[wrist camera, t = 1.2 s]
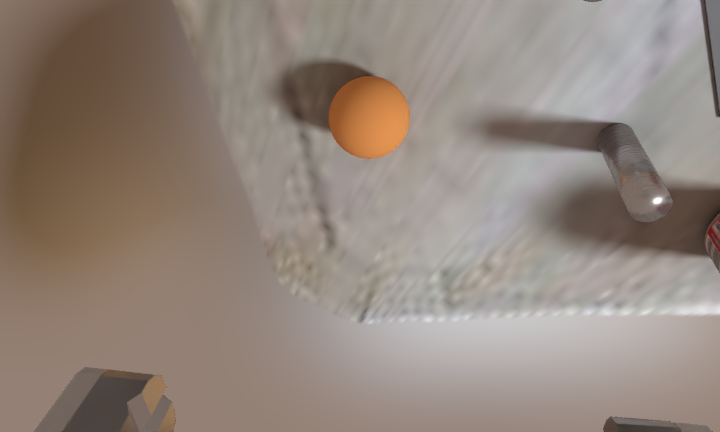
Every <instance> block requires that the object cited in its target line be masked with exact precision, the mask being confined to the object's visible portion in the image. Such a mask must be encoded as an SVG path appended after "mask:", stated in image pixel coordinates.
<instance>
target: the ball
mask: <svg viewBox="0 0 720 432" xmlns="http://www.w3.org/2000/svg"><path fill="white" fill-rule="evenodd" d="M409 120H410V114H409V108H408V104H407V101H406V99H405V97H404V95H403V94H402V93H401V91H400V90H399V89H398V88H397V87H396V86H395V85H394V84H392V83H391V82H389V81H387V80H385V79H383V78H380V77H375V76H364V77H359V78H356V79H353V80H351V81H349V82H348V83H346V84H345V85H344V86H343V87H341V88H340V89H339V91H338V92H337V93H336V95H335V96H334V98H333V100H332V102H331V105H330V109H329V126H330V129H331V132H332V135H333V137H334V139H335V140H336V142H337V143H338V144H339V145H340V146H341V147H342V148H343V149H344V150H345V151H346V152H348V153H350V154H352V155H354V156H357V157H360V158H368V159H370V158H378V157H381V156H384V155H386V154H388V153H390V152H392V151H393V150H394V149H395V148H397V147H398V146H399V145H400V143H401V142H402V141H403V139H404V137H405V135H406V133H407V130H408V127H409Z"/></svg>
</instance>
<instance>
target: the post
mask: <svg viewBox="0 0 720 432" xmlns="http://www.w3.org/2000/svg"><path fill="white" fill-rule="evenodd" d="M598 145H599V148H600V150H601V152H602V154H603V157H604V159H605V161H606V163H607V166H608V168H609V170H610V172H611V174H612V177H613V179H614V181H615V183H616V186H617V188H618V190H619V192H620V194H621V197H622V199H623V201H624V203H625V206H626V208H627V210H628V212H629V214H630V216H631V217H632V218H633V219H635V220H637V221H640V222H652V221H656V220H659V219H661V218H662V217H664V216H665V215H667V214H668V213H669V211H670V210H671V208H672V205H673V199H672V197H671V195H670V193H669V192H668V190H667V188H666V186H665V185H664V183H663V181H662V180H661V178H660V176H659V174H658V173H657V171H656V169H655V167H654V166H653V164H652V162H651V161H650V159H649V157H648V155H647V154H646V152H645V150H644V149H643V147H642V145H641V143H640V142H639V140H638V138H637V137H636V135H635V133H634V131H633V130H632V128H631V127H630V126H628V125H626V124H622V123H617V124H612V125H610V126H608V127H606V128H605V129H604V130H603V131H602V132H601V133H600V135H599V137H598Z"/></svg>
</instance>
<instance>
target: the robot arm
mask: <svg viewBox="0 0 720 432" xmlns="http://www.w3.org/2000/svg"><path fill="white" fill-rule="evenodd" d="M165 389H166V384H165V382H164V380H163V377H162V376H161V375H152V374H143V373H135V372H126V371H117V370H109V369H100V368H89V367H85V368H84V369H82V370H81V371H79V372H78V373H76V375H75V376H74V377H73V379H72V380H71V381H70V383H69V384H68V385H67V387H66V388H65V390H64V391H63V392H62V394H61V395H60V396H59V398H58V399H57V400H56V402H55V403H54V405H53V406H52V407H51V409H50V410H49V411H48V413H47V414H46V415H45V417H44V418H43V420H42V421H41V422H40V424H39V425H38V426H37V428H36V429H35V430H34V432H173V431H174V426H175V422H176V418H175V409H174V406H173V403H172V401H171V400H169V399H168V398H166V396H164V395H163V393H164V391H165ZM603 431H604V432H713V431H712V430H711V429H710V428H709V427H708V426H706V425H699V424H687V423H672V422H671V421H662V420H649V419H635V418H622V417H609V418H608V419H607V420H606V422H605V425H604V428H603Z"/></svg>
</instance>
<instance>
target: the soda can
mask: <svg viewBox="0 0 720 432" xmlns="http://www.w3.org/2000/svg"><path fill="white" fill-rule="evenodd" d="M704 242H705V248H706V250H707V252H708V254H709V256H710V257H711V259H712V261H713V262H714V264H715V266H716V268H717V269H718V271H719V273H720V213H719V214H718V215H717V216H716V217H715V218H714V219H713V221H712V222H711V223H710V225H709V227H708V229H707V231H706V234H705V239H704Z"/></svg>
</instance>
